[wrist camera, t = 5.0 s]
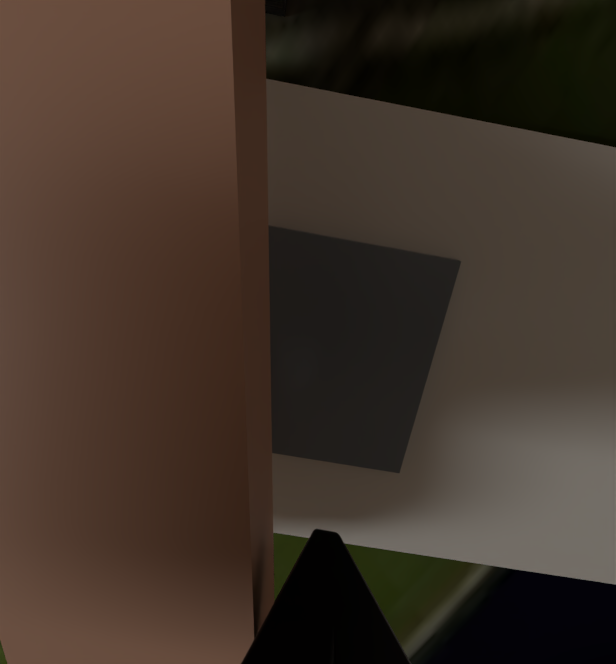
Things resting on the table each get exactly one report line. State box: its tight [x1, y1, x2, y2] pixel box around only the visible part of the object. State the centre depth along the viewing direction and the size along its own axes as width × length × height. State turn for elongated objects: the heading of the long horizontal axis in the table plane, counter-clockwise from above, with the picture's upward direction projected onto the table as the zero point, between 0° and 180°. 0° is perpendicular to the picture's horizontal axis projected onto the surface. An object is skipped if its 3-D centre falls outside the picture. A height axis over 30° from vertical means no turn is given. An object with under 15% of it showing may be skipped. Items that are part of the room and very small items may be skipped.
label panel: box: [266, 79, 616, 584], centre depth 11 cm, size 12×26×1 cm, turn 80°
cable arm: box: [0, 0, 274, 664], centre depth 6 cm, size 19×4×3 cm, turn 179°
